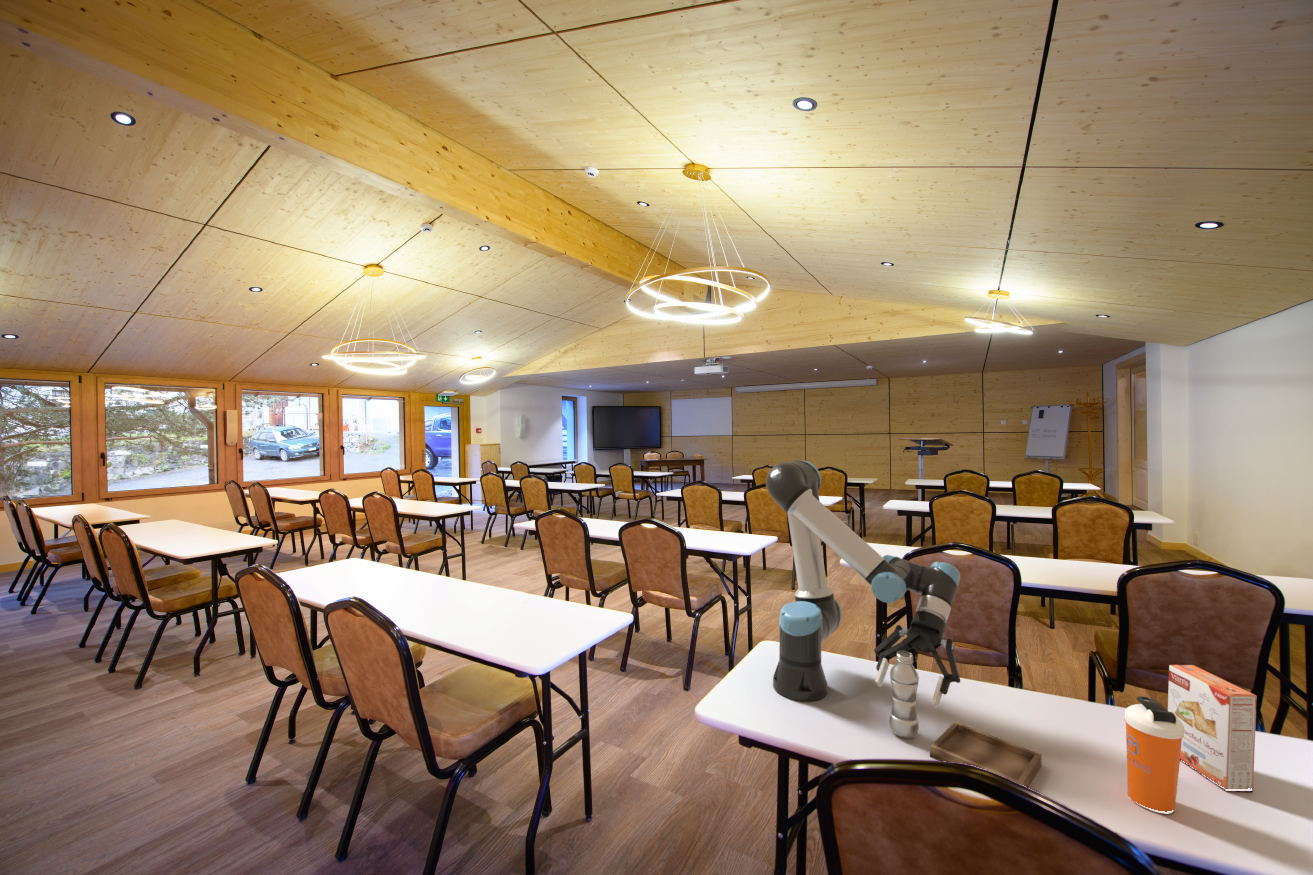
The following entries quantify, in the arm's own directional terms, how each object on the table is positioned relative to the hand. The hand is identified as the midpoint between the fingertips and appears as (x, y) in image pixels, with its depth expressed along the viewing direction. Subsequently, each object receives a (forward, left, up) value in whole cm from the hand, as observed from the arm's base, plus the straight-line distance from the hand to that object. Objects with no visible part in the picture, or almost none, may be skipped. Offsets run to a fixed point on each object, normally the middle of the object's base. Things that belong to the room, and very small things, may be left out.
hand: (905, 694), depth 133 cm
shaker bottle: (+43, +14, -11) cm, 47 cm away
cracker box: (+50, +36, -11) cm, 63 cm away
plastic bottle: (-1, +1, -11) cm, 11 cm away
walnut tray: (+16, +4, -10) cm, 20 cm away
